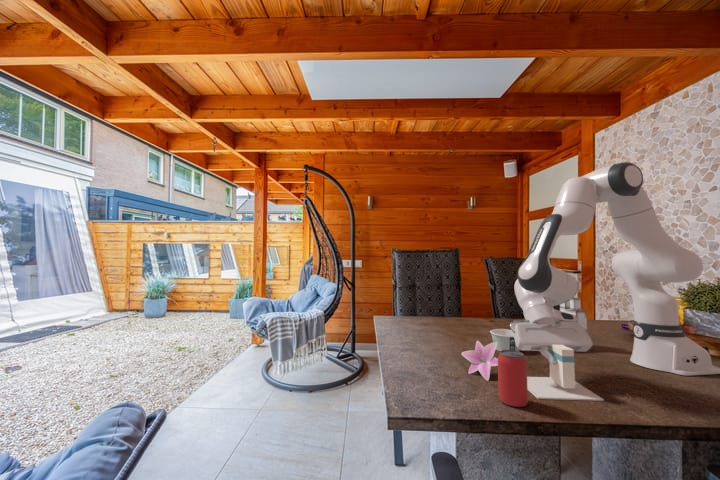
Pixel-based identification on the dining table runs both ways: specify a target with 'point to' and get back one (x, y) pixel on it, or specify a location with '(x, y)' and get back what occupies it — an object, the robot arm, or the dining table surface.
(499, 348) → the food container
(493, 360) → the lily
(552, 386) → the mat
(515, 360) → the beer can
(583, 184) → the robot arm
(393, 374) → the dining table surface
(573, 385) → the card box
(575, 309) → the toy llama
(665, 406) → the dining table surface
